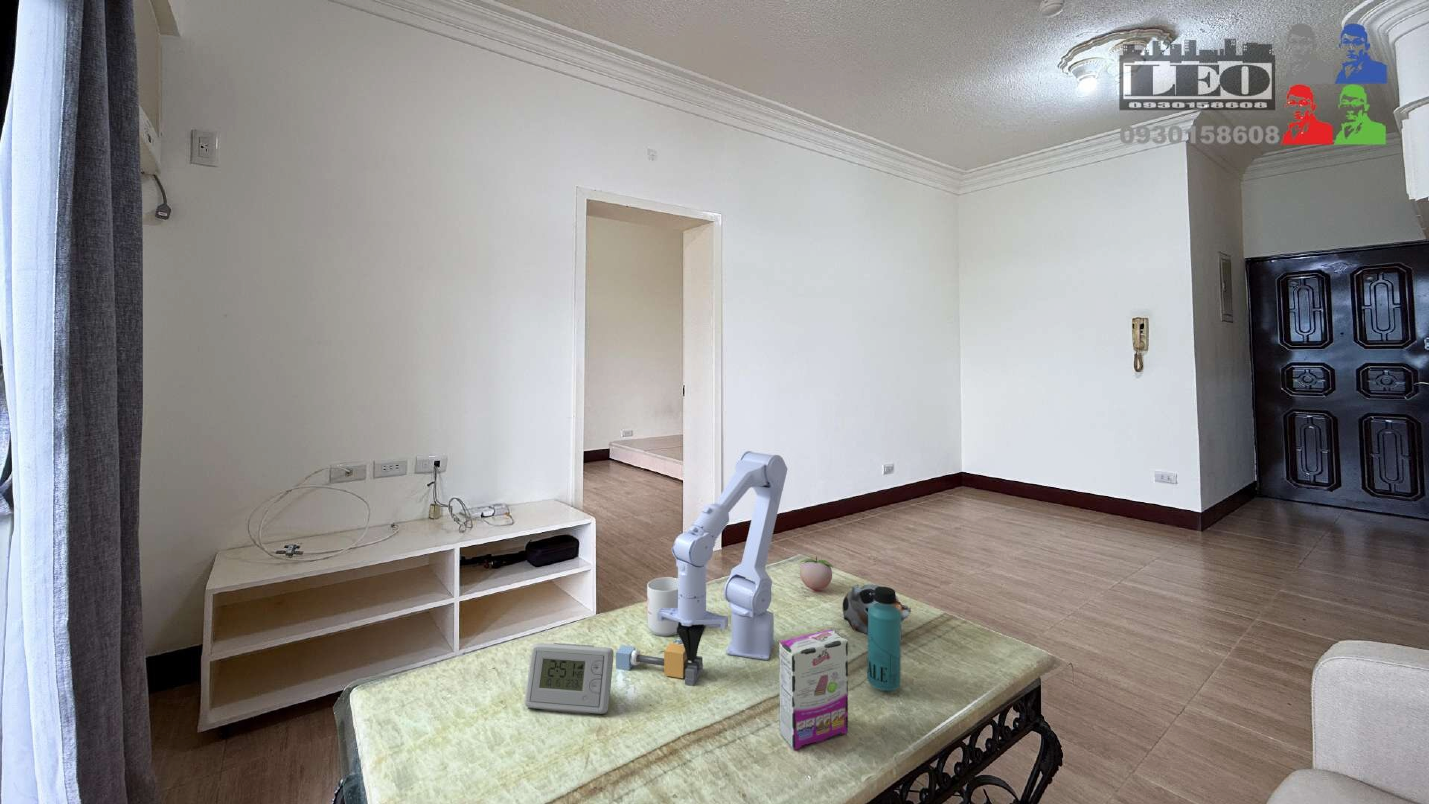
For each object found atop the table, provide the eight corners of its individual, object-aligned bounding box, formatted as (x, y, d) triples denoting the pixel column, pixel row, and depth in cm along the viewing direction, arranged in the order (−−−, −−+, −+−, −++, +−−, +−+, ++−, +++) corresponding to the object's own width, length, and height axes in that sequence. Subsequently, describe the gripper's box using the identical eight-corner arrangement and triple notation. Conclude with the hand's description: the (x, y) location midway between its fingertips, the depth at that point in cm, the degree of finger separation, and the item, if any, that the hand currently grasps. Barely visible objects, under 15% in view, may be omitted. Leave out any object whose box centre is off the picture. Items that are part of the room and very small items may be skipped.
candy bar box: (831, 717, 96) (832, 627, 95) (848, 734, 92) (850, 640, 91) (777, 733, 92) (777, 639, 91) (792, 752, 87) (793, 653, 86)
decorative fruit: (799, 596, 149) (799, 560, 149) (799, 584, 157) (799, 551, 157) (833, 598, 148) (834, 562, 147) (832, 587, 156) (832, 553, 155)
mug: (689, 633, 127) (689, 587, 127) (653, 640, 124) (653, 593, 123) (672, 613, 138) (672, 570, 138) (639, 619, 135) (639, 575, 134)
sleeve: (688, 669, 111) (688, 645, 111) (682, 678, 108) (682, 653, 108) (670, 666, 112) (670, 642, 112) (664, 675, 109) (664, 651, 109)
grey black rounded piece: (904, 618, 135) (919, 581, 128) (894, 656, 126) (911, 618, 119) (846, 593, 141) (858, 555, 133) (833, 627, 131) (845, 589, 124)
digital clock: (519, 709, 98) (518, 653, 98) (549, 683, 107) (548, 630, 106) (596, 728, 93) (596, 668, 93) (621, 698, 102) (621, 644, 101)
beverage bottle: (900, 683, 107) (902, 584, 106) (901, 702, 101) (903, 597, 100) (867, 677, 109) (868, 580, 108) (865, 695, 103) (866, 593, 102)
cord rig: (702, 669, 112) (702, 653, 112) (693, 685, 106) (693, 669, 106) (625, 656, 117) (625, 641, 117) (612, 672, 111) (612, 656, 110)
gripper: (651, 596, 106) (651, 663, 107) (721, 605, 103) (721, 674, 103) (664, 583, 113) (664, 646, 114) (730, 591, 109) (730, 656, 110)
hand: (692, 658), depth 109 cm, fingers closed
